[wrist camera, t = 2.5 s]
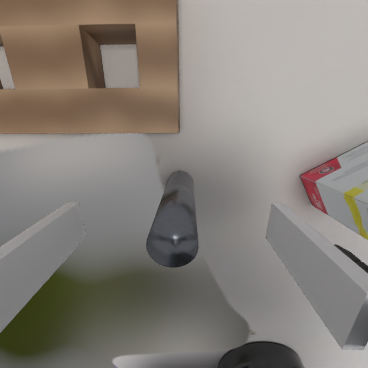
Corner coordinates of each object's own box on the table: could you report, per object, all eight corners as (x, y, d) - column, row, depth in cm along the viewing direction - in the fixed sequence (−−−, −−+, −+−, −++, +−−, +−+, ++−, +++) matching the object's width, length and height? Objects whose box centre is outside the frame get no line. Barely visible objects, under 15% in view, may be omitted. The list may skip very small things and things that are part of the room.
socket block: (179, 131, 20) (178, 132, 16) (-13, 132, 20) (-53, 134, 17) (178, -7, 16) (175, -42, 13) (-59, -2, 16) (-121, -34, 13)
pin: (192, 194, 22) (197, 267, 11) (168, 194, 22) (148, 267, 11) (192, 170, 21) (198, 223, 10) (167, 170, 21) (144, 223, 10)
